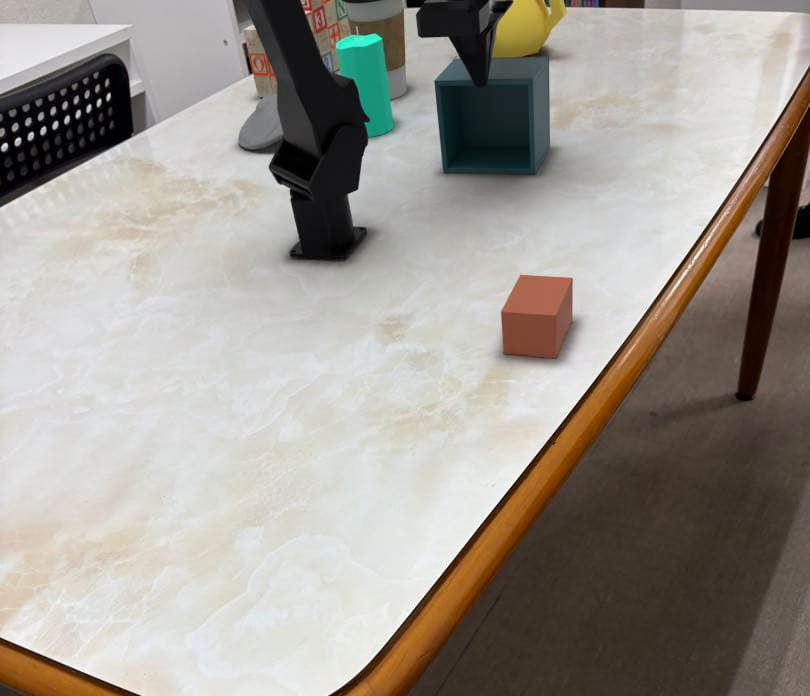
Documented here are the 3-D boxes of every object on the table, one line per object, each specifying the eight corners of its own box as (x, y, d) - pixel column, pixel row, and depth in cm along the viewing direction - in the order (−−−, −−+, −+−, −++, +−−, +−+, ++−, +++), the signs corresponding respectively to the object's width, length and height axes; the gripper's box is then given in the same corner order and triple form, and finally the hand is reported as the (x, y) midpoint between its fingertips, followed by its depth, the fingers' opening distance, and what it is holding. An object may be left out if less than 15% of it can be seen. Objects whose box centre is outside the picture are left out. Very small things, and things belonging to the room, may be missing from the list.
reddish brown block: (556, 358, 70) (556, 315, 67) (503, 354, 72) (500, 311, 69) (572, 319, 74) (572, 277, 71) (521, 316, 75) (520, 274, 73)
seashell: (321, 117, 119) (251, 111, 120) (316, 76, 114) (244, 71, 115) (299, 165, 112) (226, 158, 114) (294, 123, 108) (218, 117, 109)
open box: (535, 174, 96) (533, 78, 89) (443, 172, 100) (433, 80, 93) (550, 149, 101) (549, 56, 94) (461, 148, 104) (453, 58, 97)
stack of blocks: (291, 100, 126) (271, 5, 117) (257, 98, 128) (235, 5, 120) (365, 52, 138) (352, -38, 130) (333, 51, 141) (318, -36, 132)
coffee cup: (424, 93, 120) (411, -32, 110) (368, 108, 119) (350, -17, 108) (402, 79, 126) (388, -41, 116) (349, 93, 125) (329, -27, 114)
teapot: (478, 36, 136) (473, -47, 128) (587, 36, 129) (588, -52, 121) (424, 80, 124) (414, -8, 117) (540, 82, 117) (539, -12, 109)
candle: (389, 135, 110) (374, 32, 102) (344, 138, 112) (327, 36, 103) (398, 118, 115) (385, 17, 106) (355, 121, 116) (339, 21, 108)
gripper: (528, -78, 71) (533, 119, 82) (577, -123, 83) (576, 54, 94) (404, -67, 75) (425, 119, 86) (468, -112, 87) (479, 57, 98)
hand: (481, 85), depth 91 cm, fingers closed
